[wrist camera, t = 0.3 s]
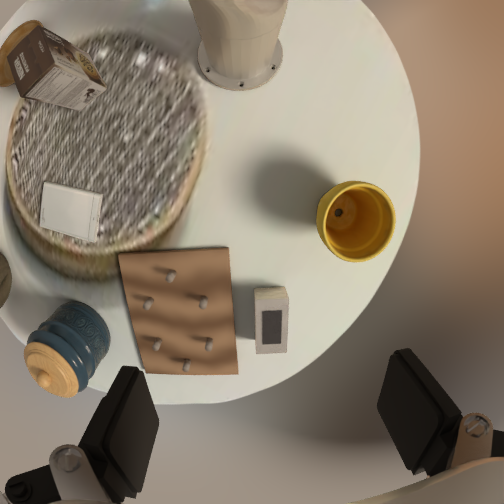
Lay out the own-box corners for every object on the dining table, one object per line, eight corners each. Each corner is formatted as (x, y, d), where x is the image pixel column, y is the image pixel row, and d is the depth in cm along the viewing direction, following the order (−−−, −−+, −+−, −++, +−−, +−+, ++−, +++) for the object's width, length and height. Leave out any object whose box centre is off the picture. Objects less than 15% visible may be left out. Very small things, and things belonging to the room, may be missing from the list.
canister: (109, 365, 51) (76, 425, 34) (57, 340, 49) (15, 390, 32) (116, 315, 48) (73, 375, 31) (59, 289, 46) (5, 335, 29)
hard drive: (39, 226, 41) (93, 243, 43) (43, 181, 39) (99, 194, 41) (44, 224, 43) (97, 241, 44) (49, 180, 41) (104, 193, 42)
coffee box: (62, 77, 35) (5, 56, 20) (89, 53, 34) (38, 21, 19) (79, 113, 37) (18, 99, 22) (109, 88, 37) (54, 61, 21)
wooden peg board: (120, 253, 44) (111, 259, 41) (228, 247, 45) (227, 254, 41) (147, 370, 51) (142, 381, 48) (238, 370, 52) (238, 382, 48)
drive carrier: (254, 287, 47) (255, 300, 43) (284, 286, 47) (289, 298, 43) (255, 339, 50) (256, 354, 45) (283, 337, 50) (286, 353, 46)
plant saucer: (-5, 64, 31) (-12, 62, 29) (39, 12, 29) (33, 9, 27) (11, 102, 35) (3, 101, 33) (59, 46, 33) (52, 42, 31)
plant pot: (355, 250, 46) (380, 271, 36) (296, 233, 45) (311, 251, 35) (375, 190, 43) (406, 198, 34) (316, 168, 42) (337, 170, 32)
